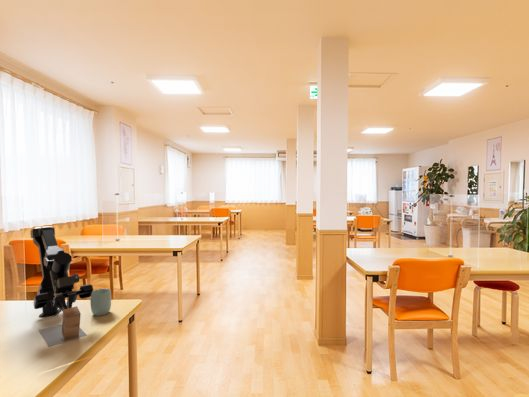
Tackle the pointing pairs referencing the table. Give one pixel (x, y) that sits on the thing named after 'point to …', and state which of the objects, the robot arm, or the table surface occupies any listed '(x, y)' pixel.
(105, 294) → the cup
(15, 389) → the table surface
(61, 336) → the mat
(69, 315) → the block
